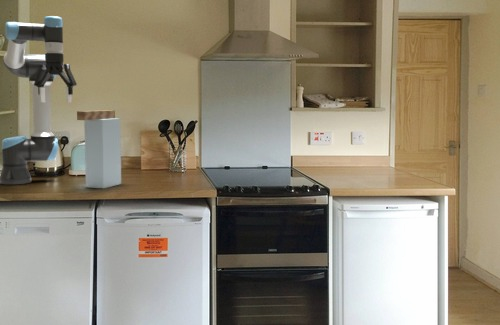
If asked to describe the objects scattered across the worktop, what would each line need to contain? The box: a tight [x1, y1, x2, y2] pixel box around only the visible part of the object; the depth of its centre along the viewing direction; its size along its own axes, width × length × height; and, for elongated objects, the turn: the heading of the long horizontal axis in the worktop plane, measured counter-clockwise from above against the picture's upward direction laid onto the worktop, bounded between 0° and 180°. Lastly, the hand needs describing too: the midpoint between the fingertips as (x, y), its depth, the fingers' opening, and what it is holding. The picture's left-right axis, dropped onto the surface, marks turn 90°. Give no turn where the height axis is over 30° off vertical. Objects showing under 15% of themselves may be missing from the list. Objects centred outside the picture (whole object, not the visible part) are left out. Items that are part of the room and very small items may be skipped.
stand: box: [83, 117, 122, 189], centre depth 287 cm, size 16×10×33 cm, turn 161°
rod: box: [76, 109, 116, 121], centre depth 280 cm, size 26×4×4 cm, turn 161°
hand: (55, 102), depth 254 cm, fingers open, 13 cm apart
